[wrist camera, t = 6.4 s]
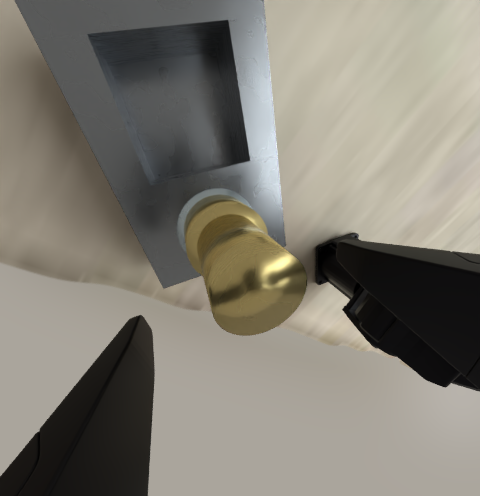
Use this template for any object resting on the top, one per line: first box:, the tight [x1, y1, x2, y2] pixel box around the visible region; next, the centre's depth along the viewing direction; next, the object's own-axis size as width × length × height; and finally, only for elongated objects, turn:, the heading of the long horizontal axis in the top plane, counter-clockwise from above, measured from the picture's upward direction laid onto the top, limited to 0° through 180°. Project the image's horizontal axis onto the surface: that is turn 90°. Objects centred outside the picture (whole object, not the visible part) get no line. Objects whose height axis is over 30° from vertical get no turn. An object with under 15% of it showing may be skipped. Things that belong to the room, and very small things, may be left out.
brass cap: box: [184, 194, 307, 335], centre depth 11 cm, size 5×5×8 cm
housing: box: [15, 0, 286, 288], centre depth 14 cm, size 16×11×5 cm
